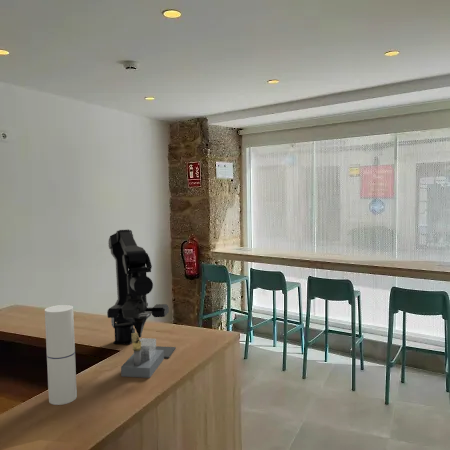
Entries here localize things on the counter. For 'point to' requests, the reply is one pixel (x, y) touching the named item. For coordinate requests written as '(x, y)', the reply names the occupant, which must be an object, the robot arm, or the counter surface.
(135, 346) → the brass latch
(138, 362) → the body
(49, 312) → the cylindrical container
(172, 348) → the rubber mat
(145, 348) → the lever cap
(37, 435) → the counter surface
